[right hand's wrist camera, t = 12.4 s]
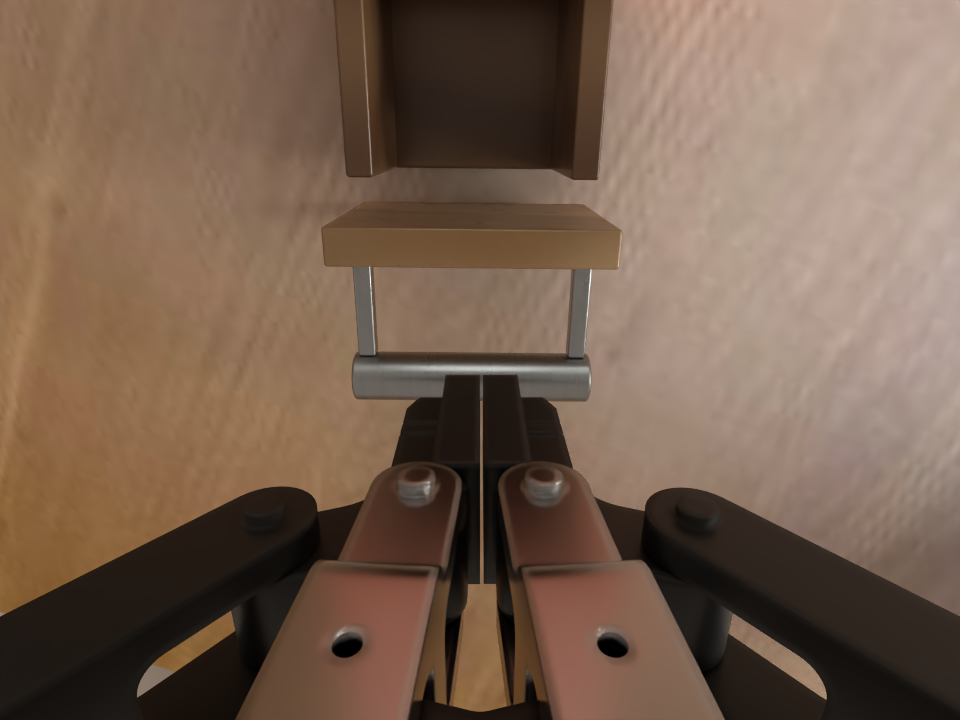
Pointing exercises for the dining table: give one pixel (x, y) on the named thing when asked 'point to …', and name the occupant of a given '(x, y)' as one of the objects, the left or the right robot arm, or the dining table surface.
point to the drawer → (472, 165)
